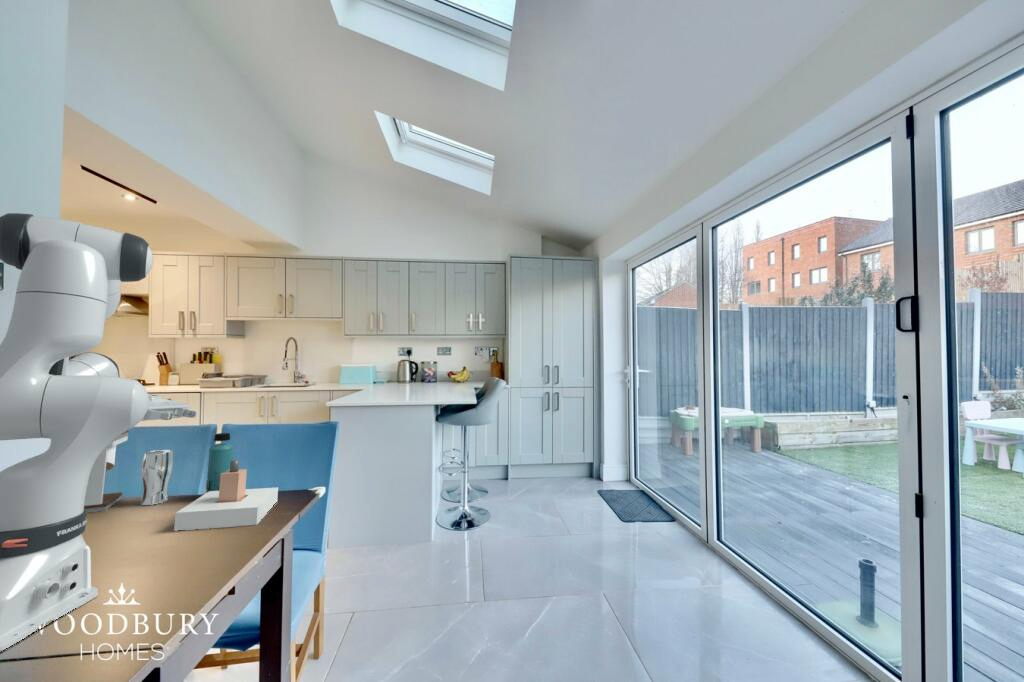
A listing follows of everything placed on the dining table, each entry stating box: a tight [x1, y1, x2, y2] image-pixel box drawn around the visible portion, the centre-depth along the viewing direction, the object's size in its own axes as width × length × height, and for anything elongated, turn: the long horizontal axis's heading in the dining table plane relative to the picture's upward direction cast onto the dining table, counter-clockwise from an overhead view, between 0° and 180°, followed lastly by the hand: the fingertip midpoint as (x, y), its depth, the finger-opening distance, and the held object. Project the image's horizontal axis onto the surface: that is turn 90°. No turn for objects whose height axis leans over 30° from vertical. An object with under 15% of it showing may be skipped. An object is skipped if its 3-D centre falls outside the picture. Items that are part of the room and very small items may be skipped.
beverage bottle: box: [205, 432, 234, 494], centre depth 123 cm, size 6×7×20 cm
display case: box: [84, 430, 129, 514], centre depth 113 cm, size 11×11×35 cm
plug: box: [218, 459, 248, 503], centre depth 108 cm, size 4×4×15 cm
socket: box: [173, 487, 279, 532], centre depth 108 cm, size 18×18×4 cm
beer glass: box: [139, 449, 174, 506], centre depth 117 cm, size 7×7×15 cm
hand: (183, 415), depth 105 cm, fingers open, 8 cm apart
